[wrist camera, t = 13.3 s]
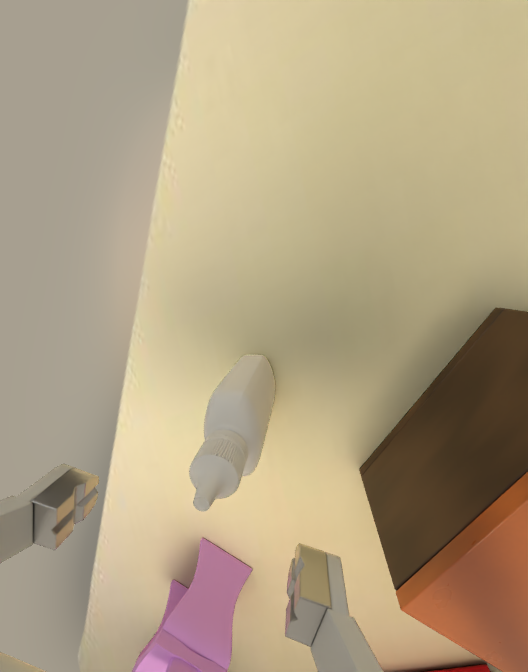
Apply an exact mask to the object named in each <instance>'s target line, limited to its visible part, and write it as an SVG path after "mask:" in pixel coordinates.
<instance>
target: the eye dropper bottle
mask: <svg viewBox="0 0 528 672" xmlns="http://www.w3.org/2000/svg"><path fill="white" fill-rule="evenodd" d="M274 398H275V379H274V374H273V371H272V368H271V366H270V363H269V361H268V360H267V358H266V357H265V356H264V355H244V356H241V358H240V359H239V360H238V361H237V362H236V364H235V365H234V366H233V367H232V369H231V370H230V371H229V372H228V374H227V375H226V376H225V377H224V379H223V380H222V381H221V382H220V384H219V385H218V386H217V388H216V389H215V390H214V392H213V394H212V396H211V398H210V400H209V403H208V406H207V410H206V415H205V422H204V437H205V442H204V443H203V445H202V446H201V448H200V450H199V451H198V453H197V455H196V456H195V458H194V460H193V461H192V463H191V466H190V470H189V472H190V473H189V474H190V479H191V481H192V483H193V485H194V487H195V488H196V489H197V490H196V494H195V497H194V501H193V504H194V506H195V508H196V509H198V510H199V511H207V510H208V509H209V508H210V506H211V505H212V503H213V502H214V500H215V499H221V498H226V497H229V496H230V495H232V494H233V493H234V492H235V491H236V490H237V489H238V487H239V483H240V480H241V477H242V476H247V475H250V474H251V473H252V472H253V471H254V470H255V468H256V466H257V464H258V462H259V459H260V456H261V452H262V448H263V444H264V440H265V436H266V432H267V428H268V424H269V420H270V416H271V412H272V407H273V403H274Z"/></svg>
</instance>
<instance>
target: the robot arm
mask: <svg viewBox="0 0 528 672" xmlns="http://www.w3.org/2000/svg"><path fill="white" fill-rule="evenodd" d="M98 483H99V477H98V476H96V475H93V474H90V473H88V472H85V471H82V470H80V469H77V468H74V467H71V466H69V465H66V464H61V465H59V466H57V467H56V468H54V469H53V470H52V471H50V472H49V473H48V474H46V475H45V476H44V477H42V478H41V479H40V480H38V481H37V482H35V483H34V484H33V485H31V486H30V487H29V488H28V489H26V490H25V491H23V492H22V493H21V494H20V495H18V496H17V497H15V496H10V497H8V498H5V499H2V500H0V563H2V562H3V561H5V560H7V559H9V558H11V557H12V556H14V555H16V554H17V553H19V552H21V551H23V550H24V549H26V548H28V547H30V546H31V545H32V544H33V543H34V544H37V545H40V546H43V547H47V548H50V549H53V550H56V549H57V548H58V547H59V546H60V545H61V543H62V542H63V541H64V540H65V539H66V538H67V537H68V536H69V535H70V534H71V533H72V531H73V527H74V524H76V523H78V522H80V521H82V520H84V518H85V517H86V516H87V515H88V514H89V513H90V511H91V510H92V508H93V507H94V505H95V503H96V500H97V495H98V492H97V490H96V488H95V486H96V485H97V484H98ZM287 594H288V596H289V599H290V600H289V603H288V606H287V608H286V627H285V636H286V637H288V638H290V639H293V640H295V641H298V642H300V643H302V644H305V645H307V646H310V647H311V652H312V655H313V658H314V661H315V664H316V667H317V670H318V672H383V670H382V668H381V666H380V664H379V663H378V661H377V659H376V657H375V655H374V653H373V652H372V650H371V648H370V646H369V644H368V643H367V641H366V639H365V637H364V635H363V634H362V632H361V630H360V628H359V626H358V624H357V623H356V621H355V619H354V618H353V617H351V616H349V611H348V604H347V598H346V591H345V584H344V578H343V571H342V564H341V560H340V557H338V556H336V555H333V554H330V553H326V552H324V551H322V550H319V549H315V548H312V547H309V546H306V545H303V544H300V543H299V544H298V545H297V547H296V550H295V558H294V559H292V562H291V565H290V569H289V574H288V583H287ZM0 672H46V671H44V670H42V669H39V668H37V667H35V666H32V665H30V664H28V663H25V662H23V661H20V660H18V659H16V658H13V657H11V656H9V655H6V654H4V653H2V652H0Z"/></svg>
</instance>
